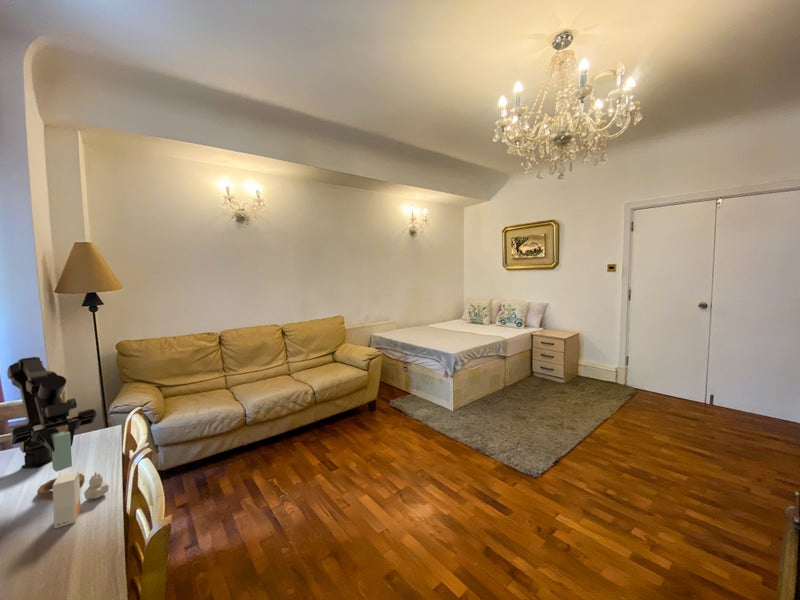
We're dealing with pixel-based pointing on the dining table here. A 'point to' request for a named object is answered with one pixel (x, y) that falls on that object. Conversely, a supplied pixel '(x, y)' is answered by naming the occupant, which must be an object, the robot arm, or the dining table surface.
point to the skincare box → (66, 499)
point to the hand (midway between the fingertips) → (62, 448)
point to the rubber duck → (96, 487)
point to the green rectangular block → (61, 450)
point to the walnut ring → (49, 494)
